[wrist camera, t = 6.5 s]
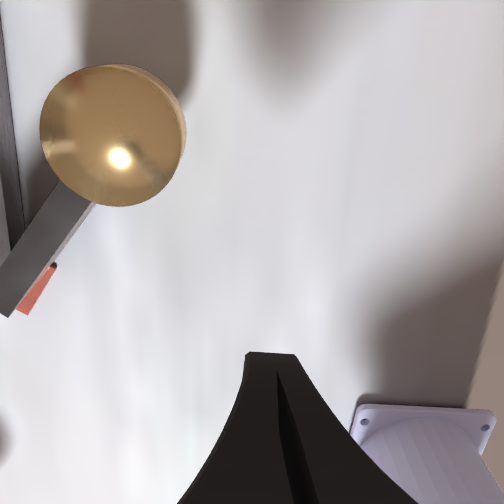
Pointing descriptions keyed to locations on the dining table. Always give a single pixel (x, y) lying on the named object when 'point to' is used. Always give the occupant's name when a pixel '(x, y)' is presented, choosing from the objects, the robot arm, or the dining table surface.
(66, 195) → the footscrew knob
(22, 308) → the instrument base
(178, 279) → the dining table surface
